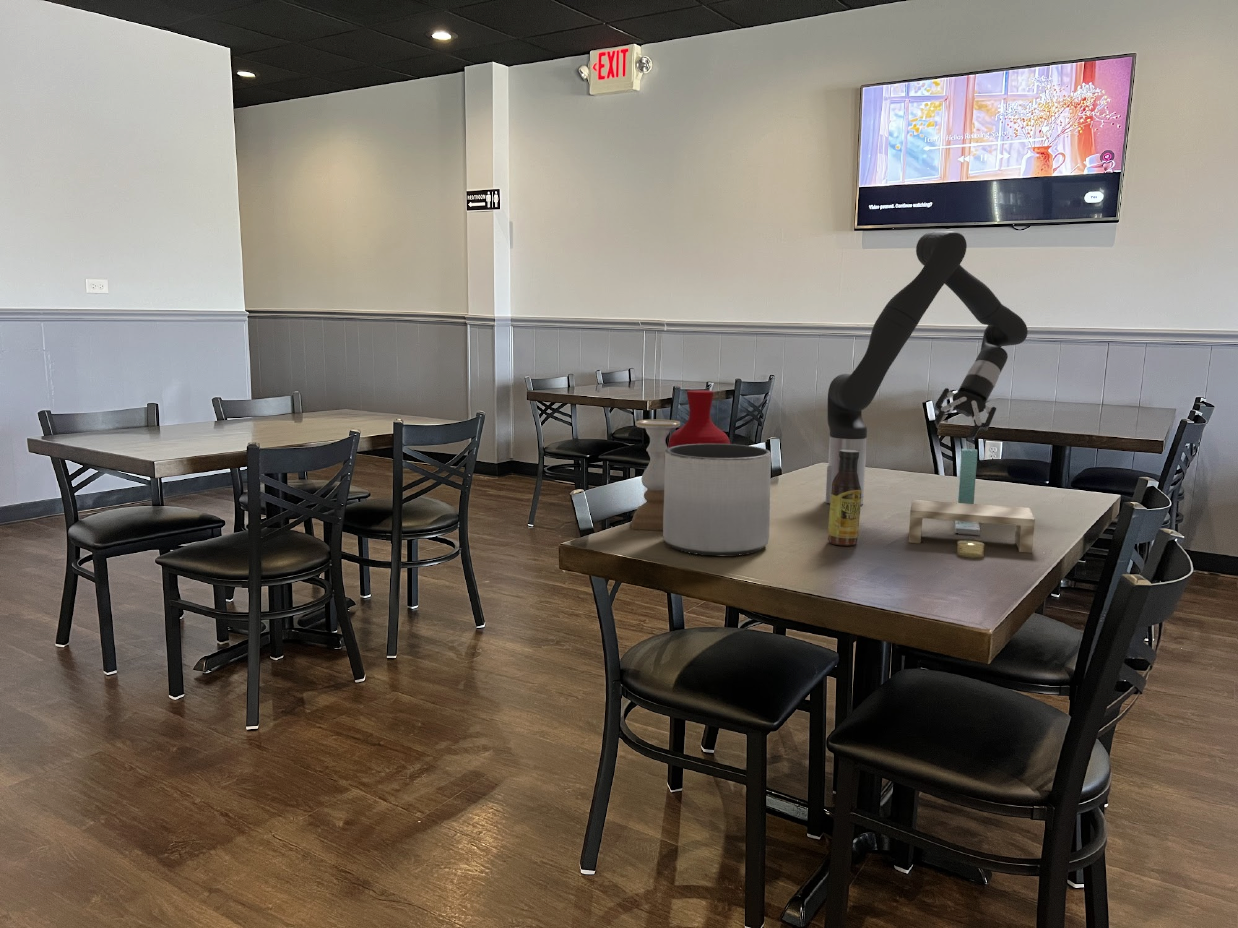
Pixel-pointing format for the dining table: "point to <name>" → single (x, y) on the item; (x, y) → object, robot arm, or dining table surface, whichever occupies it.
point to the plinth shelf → (974, 518)
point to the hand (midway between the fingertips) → (953, 432)
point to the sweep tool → (967, 489)
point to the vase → (699, 422)
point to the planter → (717, 498)
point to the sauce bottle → (845, 501)
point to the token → (970, 549)
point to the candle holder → (654, 475)
